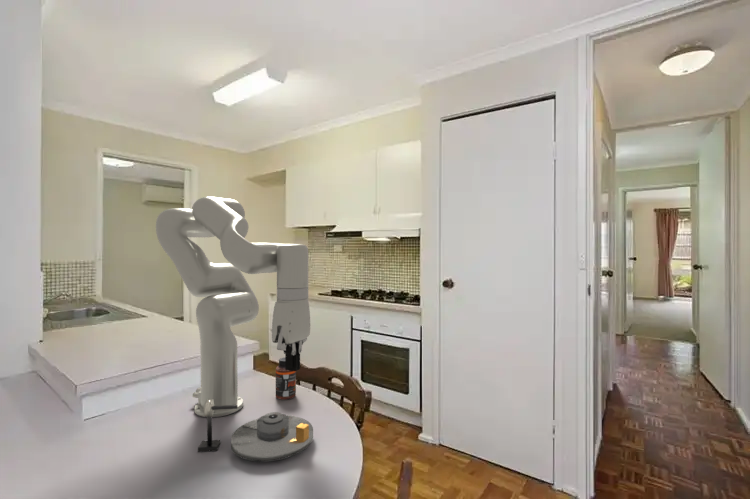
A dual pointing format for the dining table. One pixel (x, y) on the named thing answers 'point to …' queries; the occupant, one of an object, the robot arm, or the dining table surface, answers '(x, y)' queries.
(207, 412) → the stand
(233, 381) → the robot arm
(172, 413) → the dining table surface
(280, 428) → the cover
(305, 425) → the turntable
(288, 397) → the supplement bottle
